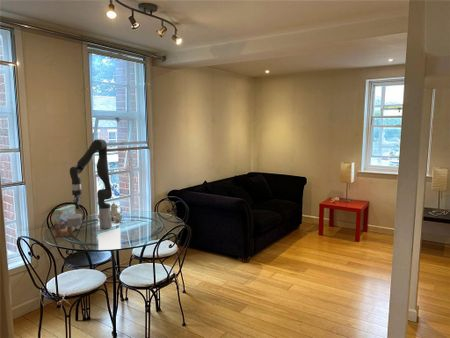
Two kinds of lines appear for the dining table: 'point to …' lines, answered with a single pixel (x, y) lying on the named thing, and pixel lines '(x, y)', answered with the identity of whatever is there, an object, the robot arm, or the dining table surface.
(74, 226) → the roller front
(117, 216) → the chinaware
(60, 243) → the dining table surface
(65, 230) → the roller
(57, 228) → the deck
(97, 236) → the dining table surface
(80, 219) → the slab
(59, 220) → the snack box
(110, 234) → the dining table surface
